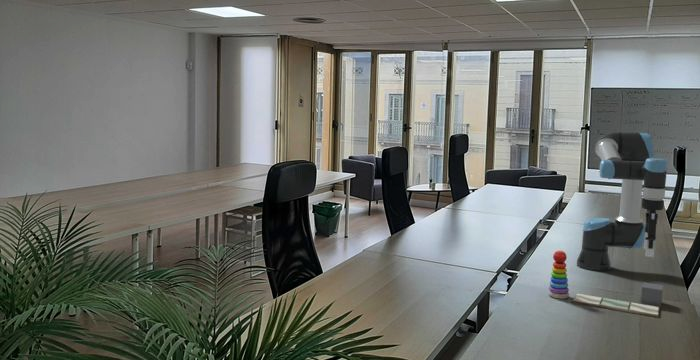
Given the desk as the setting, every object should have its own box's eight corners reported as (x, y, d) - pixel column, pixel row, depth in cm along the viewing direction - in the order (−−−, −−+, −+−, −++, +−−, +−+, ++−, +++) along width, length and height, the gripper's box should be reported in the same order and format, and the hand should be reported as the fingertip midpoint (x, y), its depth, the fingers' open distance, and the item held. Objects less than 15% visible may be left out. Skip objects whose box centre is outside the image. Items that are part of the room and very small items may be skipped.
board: (576, 294, 236) (576, 292, 236) (659, 308, 222) (659, 306, 222) (572, 302, 227) (572, 300, 227) (658, 317, 213) (658, 315, 212)
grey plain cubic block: (641, 299, 233) (643, 282, 232) (661, 302, 230) (662, 285, 229) (640, 304, 227) (642, 287, 226) (660, 307, 224) (662, 290, 223)
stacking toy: (564, 293, 239) (567, 248, 236) (572, 299, 231) (575, 253, 228) (545, 292, 238) (548, 248, 236) (552, 299, 230) (555, 253, 228)
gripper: (640, 194, 236) (636, 245, 238) (643, 202, 213) (639, 258, 216) (661, 195, 233) (657, 247, 235) (666, 204, 210) (661, 261, 213)
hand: (648, 252), depth 226 cm, fingers open, 13 cm apart
